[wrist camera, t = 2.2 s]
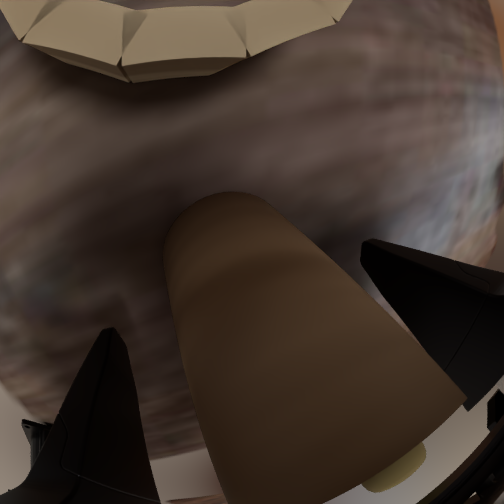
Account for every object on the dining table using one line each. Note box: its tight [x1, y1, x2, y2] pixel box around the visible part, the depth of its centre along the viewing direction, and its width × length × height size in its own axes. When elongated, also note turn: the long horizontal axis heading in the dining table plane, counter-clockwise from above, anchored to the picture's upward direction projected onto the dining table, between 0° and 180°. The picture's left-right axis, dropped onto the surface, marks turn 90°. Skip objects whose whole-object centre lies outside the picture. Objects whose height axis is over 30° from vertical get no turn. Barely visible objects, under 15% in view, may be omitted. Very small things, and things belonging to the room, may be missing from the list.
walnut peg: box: [163, 192, 467, 504], centre depth 7 cm, size 5×5×9 cm
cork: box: [361, 442, 426, 493], centre depth 16 cm, size 6×6×11 cm
